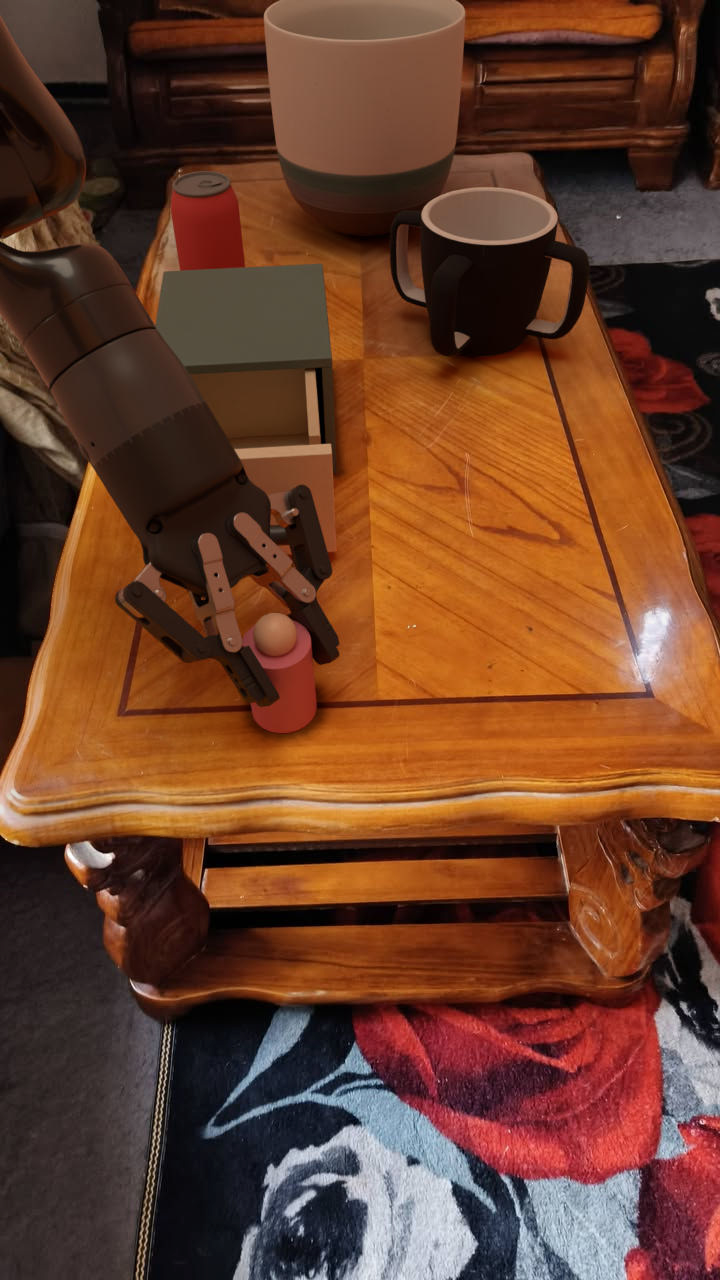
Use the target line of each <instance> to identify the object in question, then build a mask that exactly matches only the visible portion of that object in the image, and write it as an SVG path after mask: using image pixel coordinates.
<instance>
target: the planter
mask: <svg viewBox="0 0 720 1280" xmlns="http://www.w3.org/2000/svg"><path fill="white" fill-rule="evenodd" d="M263 26H264V27H263V28H264V39H265V50H266V61H267V62H266V64H267V75H268V86H269V95H270V96H269V97H270V104H271V113H272V115H271V116H272V123H273V130H274V139H275V147H276V152H277V157H278V162H279V167H280V170H281V173H282V175H283V180H284V181H285V184H286V186H287V189H288V191H289V193H290V195H291V196H292V198H293V199H294V201H295V202H296V203H297V204H298V205H299V207H300V208H301V209H302V210H303V211H304V212H305V213H306V214H307V215H309V217H311V218H312V219H313V220H314V221H316V222H318V223H319V224H321V225H322V226H324V227H325V228H328V229H329V230H332V231H335V232H337V233H341V234H345V235H348V236H349V235H350V236H358V237H374V236H382V235H386V234H390V228H391V225H392V222H393V220H394V218H395V217H396V215H397V214H398V213H400V212H402V211H405V210H411V211H421V212H422V210H423V208H424V207H425V206H426V204H427V203H429V202H430V201H431V200H433V199H434V198H436V197H438V196H440V195H442V193H443V190H444V188H445V186H446V184H447V181H448V178H449V176H450V172H451V169H452V165H453V161H454V158H455V152H456V151H455V150H456V145H457V135H458V127H459V126H458V125H459V116H460V105H461V92H462V91H461V90H462V77H463V65H464V64H463V63H464V47H465V30H466V9H465V8H464V5H462V4H461V3H460V1H458V0H278V1H275V2H274V3H272V4H270V5H269V6H268V7H267V8H266V10H265V11H264V14H263Z"/></svg>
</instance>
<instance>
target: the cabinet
mask: <svg viewBox="0 0 720 1280" xmlns="http://www.w3.org/2000/svg"><path fill="white" fill-rule="evenodd" d="M324 275H325V273H324V265H323V263H306V264H287V265H285V264H284V265H263V266H247V267H246V266H245V267H243V268H222V269H202V270H182V271H180V270H167V271H166V270H164V271H163V272H162V279H161V286H160V293H159V298H158V299H159V300H158V305H157V313H156V320H155V326H156V328H157V330H158V331H159V333H160V334H161V336H162V337H163V339H164V340H165V341H166V343H167V344H168V345H169V347H170V348H171V349H172V350H173V352H174V353H175V354H176V355H177V357H178V358H179V359H180V361H181V362H182V363H183V365H184V366H185V368H186V370H187V371H188V373H189V374H207V373H226V372H245V371H263V370H282V369H301V368H315V374H316V387H317V400H318V413H319V426H320V441H321V444H331V448H332V464H333V474H337V473H338V469H337V465H338V464H337V445H336V443H337V442H336V421H335V420H336V419H335V417H336V416H335V397H334V394H335V393H334V373H333V370H334V369H333V355H332V346H331V344H332V343H331V333H330V324H329V314H328V303H327V295H326V285H325V276H324Z"/></svg>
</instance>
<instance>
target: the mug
mask: <svg viewBox="0 0 720 1280" xmlns="http://www.w3.org/2000/svg"><path fill="white" fill-rule="evenodd" d="M558 224H559V216H558V213H557V211H556V209H555V208H554V206H552V205H551V204H550V203H548V201H546V200H544V199H542V198H541V197H539V196H537V195H534V194H531V193H528V192H525V191H521V190H517V189H514V188H513V189H511V188H504V187H491V186H488V187H487V186H482V187H481V186H480V187H479V186H478V187H469V188H462V189H456V190H452V191H448V192H446V193H443V194H440V195H439V196H438V197H436V198H434V199H433V200H431V201H430V202H429V203H427V204H426V206H425V207H424V208H423V210H422V212H421V211H411V210H405V211H402V212H400V213H398V214H397V215H396V217H395V218H394V220H393V222H392V225H391V228H390V233H389V264H390V265H389V266H390V275H391V279H392V282H393V284H394V287H395V289H396V292H397V293H398V295H399V296H400V297H401V299H403V300H404V301H405V302H406V303H409V304H412V305H414V306H417V307H420V308H424V309H426V311H427V316H428V322H429V332H430V333H429V334H430V341H431V345H432V348H433V349H434V350H435V352H436V353H437V354H439V355H441V356H444V357H454V356H455V357H456V356H457V355H459V354H461V355H464V356H470V357H484V358H485V357H486V358H487V357H495V356H500V355H504V354H507V353H509V352H512V351H514V350H515V349H517V348H520V347H521V345H523V344H524V342H525V341H526V340H527V338H528V336H530V337H535V338H539V339H546V340H558V339H561V338H563V337H565V336H567V335H568V334H569V333H570V332H571V331H572V330H573V328H575V325H576V324H577V322H578V321H579V319H580V317H581V316H582V315H581V314H582V312H583V309H584V306H585V301H586V295H587V291H588V285H589V278H590V269H591V264H590V259H589V256H588V253H587V252H586V251H585V250H584V249H583V248H581V247H578V246H575V245H573V244H569V243H566V242H563V241H559V240H556V239H557V230H558ZM409 226H410V227H414V228H419V229H420V239H419V240H420V241H419V242H420V263H421V275H422V283H423V288H420V287H418V286H417V285H415V283H414V281H413V278H412V277H411V273H410V270H409V269H410V268H409V260H408V259H409V258H408V239H409ZM553 259H554V260H559V261H561V262H566V263H567V264H569V265H570V280H569V287H568V294H567V299H566V305H565V309H564V313H563V315H562V317H561V318H560V319H559V321H557V322H556V321H555V322H553V321H549V320H544V319H539V318H536V317H537V314H538V311H539V309H540V307H541V302H542V299H543V295H544V292H545V287H546V284H547V281H548V277H549V273H550V269H551V265H552V260H553Z"/></svg>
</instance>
